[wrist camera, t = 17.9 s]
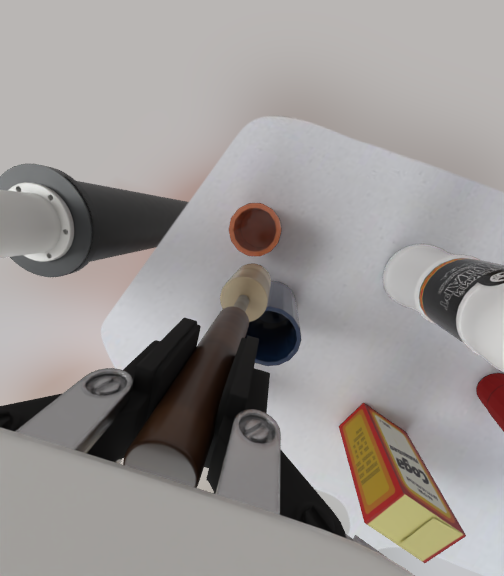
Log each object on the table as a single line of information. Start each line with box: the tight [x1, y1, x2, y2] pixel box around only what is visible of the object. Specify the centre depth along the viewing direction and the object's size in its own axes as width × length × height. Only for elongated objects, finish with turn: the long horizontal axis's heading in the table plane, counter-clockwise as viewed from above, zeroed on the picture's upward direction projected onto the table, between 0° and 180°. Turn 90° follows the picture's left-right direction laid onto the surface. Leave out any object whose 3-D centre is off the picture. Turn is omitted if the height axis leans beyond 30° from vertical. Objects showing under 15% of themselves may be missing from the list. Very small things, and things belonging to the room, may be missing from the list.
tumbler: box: [245, 281, 301, 366], centre depth 37 cm, size 7×7×13 cm
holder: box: [229, 203, 282, 256], centre depth 37 cm, size 7×7×7 cm
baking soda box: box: [339, 403, 466, 563], centre depth 39 cm, size 10×6×16 cm
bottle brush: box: [123, 264, 271, 488], centre depth 16 cm, size 4×4×20 cm
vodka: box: [383, 244, 504, 373], centre depth 25 cm, size 9×9×30 cm
